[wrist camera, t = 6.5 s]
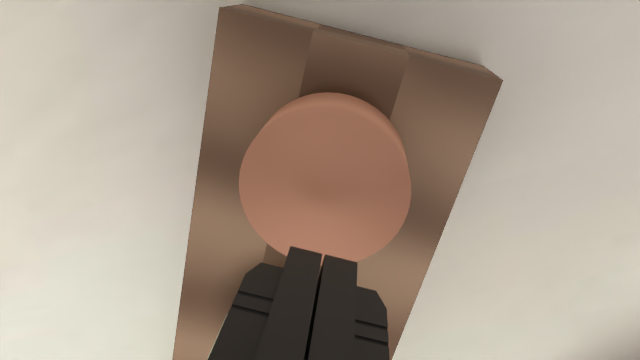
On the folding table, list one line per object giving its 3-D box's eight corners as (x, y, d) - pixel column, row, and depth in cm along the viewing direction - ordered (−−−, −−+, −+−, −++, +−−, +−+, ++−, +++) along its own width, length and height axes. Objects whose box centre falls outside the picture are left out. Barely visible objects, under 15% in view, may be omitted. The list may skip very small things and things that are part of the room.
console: (242, 4, 18) (219, 7, 16) (483, 66, 18) (503, 80, 16) (180, 411, 28) (159, 457, 25) (337, 452, 28) (334, 502, 25)
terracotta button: (285, 60, 17) (254, 87, 13) (418, 94, 17) (435, 134, 13) (261, 181, 19) (227, 243, 15) (380, 212, 19) (382, 283, 15)
